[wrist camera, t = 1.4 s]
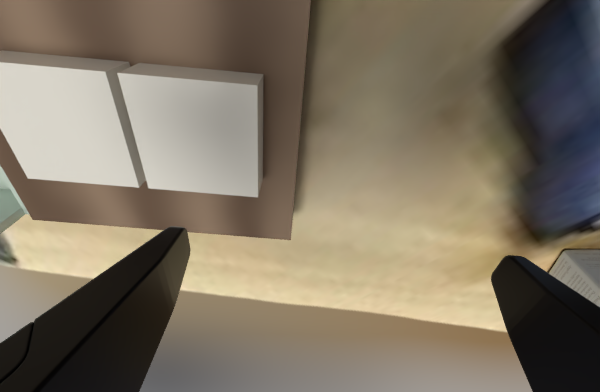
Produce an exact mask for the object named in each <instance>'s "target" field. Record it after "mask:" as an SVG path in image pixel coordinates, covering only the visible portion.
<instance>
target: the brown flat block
mask: <svg viewBox="0 0 600 392" xmlns="http://www.w3.org/2000/svg"><path fill="white" fill-rule="evenodd" d="M310 4H311V0H0V51H2V50H3V51H14V52H25V53H36V54H47V55H58V56H69V57H80V58H91V59H102V60H113V61H124V62H129V64H130V67H131V66H134V65H136V64H138V63H146V64H157V65H168V66H179V67H190V68H201V69H212V70H223V71H233V72H244V73H255V74H263V180H262V184H261V188H260V191H259V195H258V197H247V196H235V195H223V194H210V193H198V192H186V191H174V190H162V189H150V188H148V185H147V181H146V180H145V182H144V183H143V184H142V185H141V186H140V187H139V188H137V187H125V186H113V185H101V184H89V183H76V182H64V181H52V180H40V179H28V178H27V176H26V174H25V172H24V171H23V169H22V167H21V165H20V163H19V162H18V160H17V158H16V156H15V154H14V152H13V151H12V149H11V147H10V145H9V143H8V142H7V140H6V138H5V136H4V134H3V132H2V131H1V129H0V166H1V167H2V169H3V171H4V172H5V174H6V176H7V177H8V179H9V181H10V182H11V184H12V186H13V187H14V189H15V191H16V192H17V194H18V196H19V197H20V199H21V201H22V202H23V204H24V206H25V207H26V209H27V211H28V212H29V214H30V216H31V217H32V219H33V220H44V221H56V222H69V223H81V224H94V225H107V226H119V227H132V228H145V229H157V230H165V229H166V228H168V227H170V226H177V227H184V228H186V230H187V232H195V233H208V234H221V235H233V236H246V237H258V238H271V239H284V240H291V230H292V218H293V207H294V195H295V183H296V171H297V159H298V147H299V135H300V123H301V111H302V100H303V88H304V76H305V64H306V52H307V40H308V28H309V16H310Z"/></svg>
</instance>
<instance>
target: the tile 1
mask: <svg viewBox="0 0 600 392" xmlns="http://www.w3.org/2000/svg"><path fill="white" fill-rule="evenodd" d="M129 67H130V64H129V62H124V61H113V60H102V59H91V58H80V57H69V56H58V55H47V54H36V53H25V52H14V51H3V50H2V51H0V129H1V131H2V132H3V134H4V136H5V138H6V140H7V142H8V143H9V145H10V147H11V149H12V151H13V152H14V154H15V156H16V158H17V160H18V162H19V163H20V165H21V167H22V169H23V171H24V172H25V174H26V176H27V178H28V179H40V180H52V181H64V182H76V183H89V184H101V185H113V186H125V187H137V188H139V187H140V186H141V185H142V184H143V183H144V182H145V180H146V177H145V174H144V170H143V166H142V163H141V159H140V155H139V152H138V148H137V144H136V140H135V137H134V133H133V129H132V126H131V122H130V118H129V115H128V111H127V107H126V104H125V100H124V96H123V93H122V89H121V85H120V82H119V78H118V74H117V73H118V72H120V71H122V70H125V69H127V68H129Z"/></svg>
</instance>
